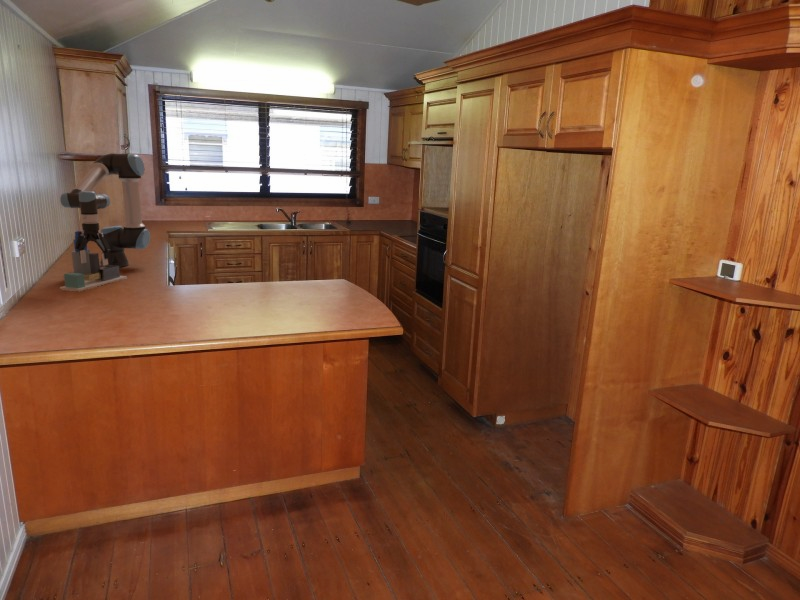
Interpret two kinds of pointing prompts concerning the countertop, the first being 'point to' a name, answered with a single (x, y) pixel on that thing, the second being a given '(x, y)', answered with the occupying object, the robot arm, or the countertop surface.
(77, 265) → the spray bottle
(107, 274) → the sleeve
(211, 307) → the countertop surface
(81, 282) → the green rectangular block
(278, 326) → the countertop surface
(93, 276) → the l-shaped block
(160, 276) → the countertop surface
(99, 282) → the base board
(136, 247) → the robot arm
